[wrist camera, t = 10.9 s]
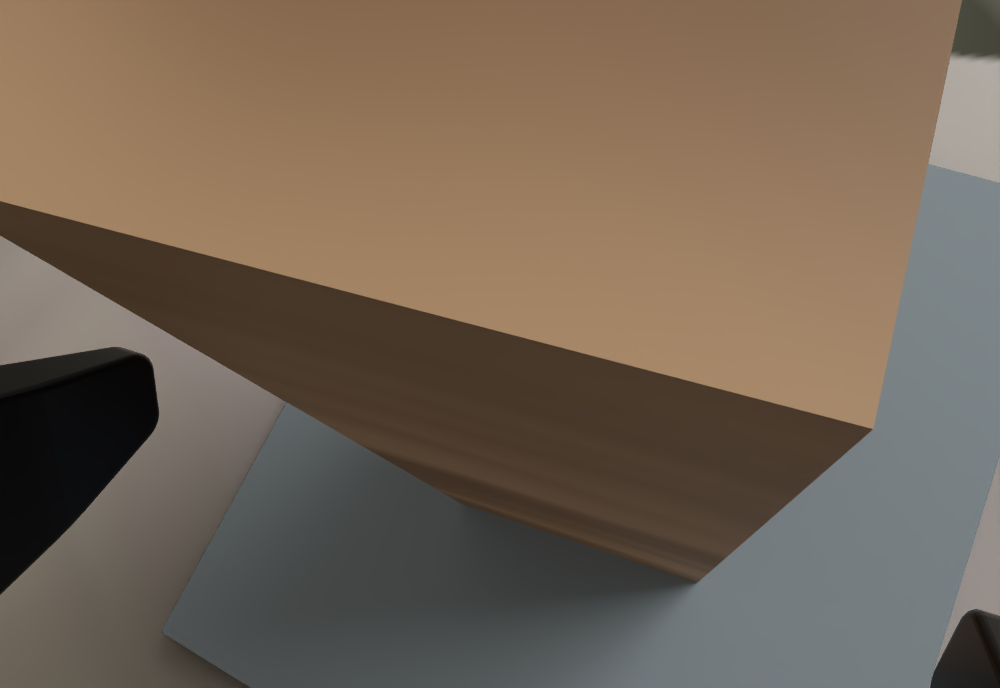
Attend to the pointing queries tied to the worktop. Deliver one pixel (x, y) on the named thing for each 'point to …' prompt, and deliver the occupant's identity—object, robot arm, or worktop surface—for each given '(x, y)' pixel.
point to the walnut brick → (505, 229)
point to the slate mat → (619, 581)
